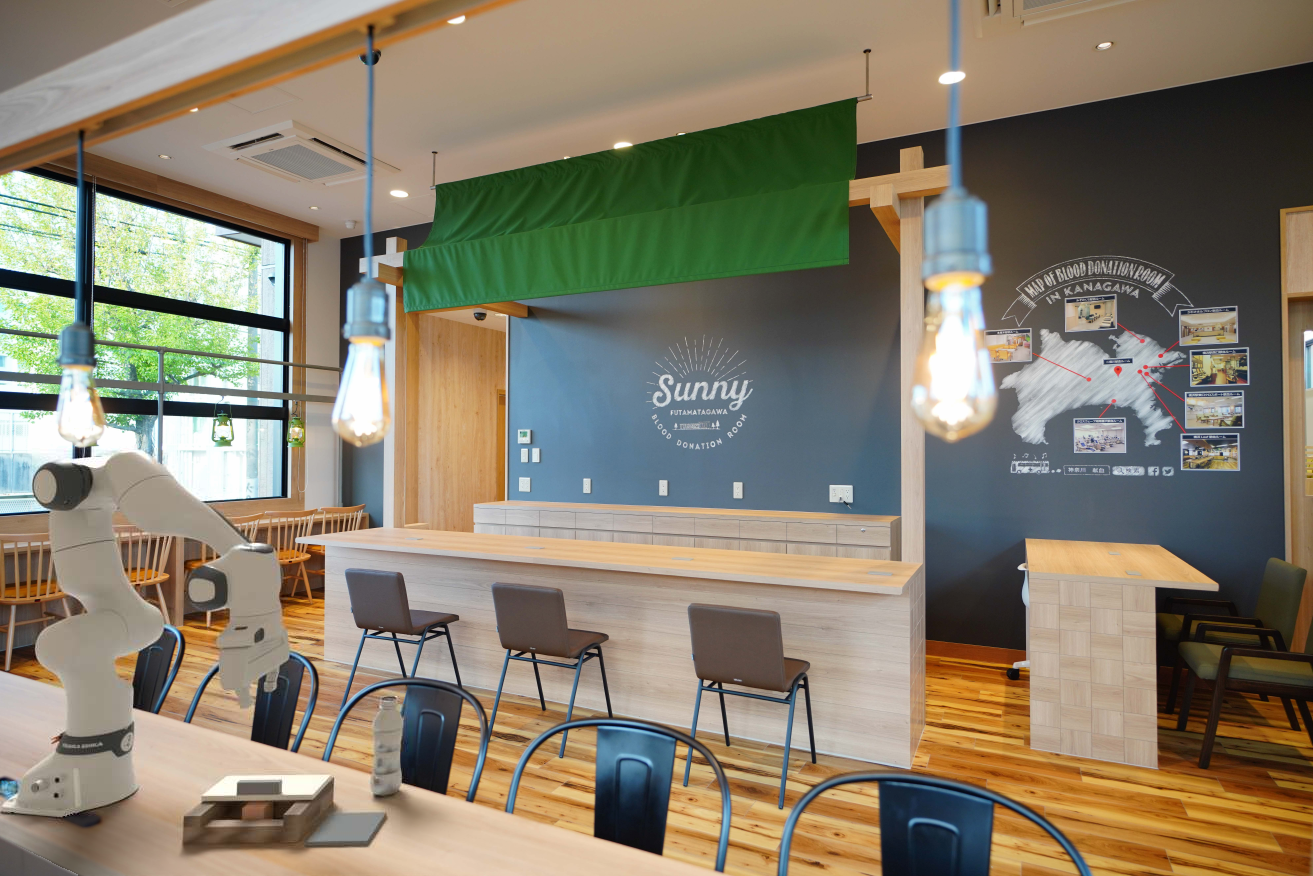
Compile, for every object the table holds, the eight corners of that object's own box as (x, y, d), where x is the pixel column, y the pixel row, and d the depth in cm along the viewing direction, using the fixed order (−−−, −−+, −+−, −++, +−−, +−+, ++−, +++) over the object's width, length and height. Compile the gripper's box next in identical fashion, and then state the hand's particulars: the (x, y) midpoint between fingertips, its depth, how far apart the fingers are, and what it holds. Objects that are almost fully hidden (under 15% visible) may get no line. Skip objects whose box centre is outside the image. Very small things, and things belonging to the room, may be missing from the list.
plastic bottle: (371, 802, 147) (374, 705, 148) (368, 789, 153) (371, 696, 154) (403, 796, 150) (406, 701, 151) (399, 783, 156) (402, 692, 157)
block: (241, 832, 135) (242, 808, 135) (252, 822, 138) (253, 798, 139) (262, 832, 135) (263, 808, 135) (272, 822, 139) (273, 798, 139)
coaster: (306, 846, 130) (306, 841, 130) (330, 816, 141) (330, 812, 141) (367, 845, 130) (367, 840, 131) (386, 816, 141) (386, 812, 141)
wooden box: (182, 843, 130) (183, 816, 130) (229, 803, 146) (230, 778, 146) (298, 842, 131) (299, 814, 131) (333, 801, 147) (334, 777, 147)
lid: (201, 801, 136) (202, 783, 136) (227, 780, 145) (227, 763, 145) (312, 799, 137) (313, 781, 137) (331, 779, 146) (331, 762, 146)
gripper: (265, 616, 147) (267, 682, 146) (210, 641, 126) (213, 718, 126) (296, 614, 147) (299, 680, 147) (247, 639, 127) (249, 716, 127)
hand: (258, 698), depth 136 cm, fingers open, 8 cm apart
